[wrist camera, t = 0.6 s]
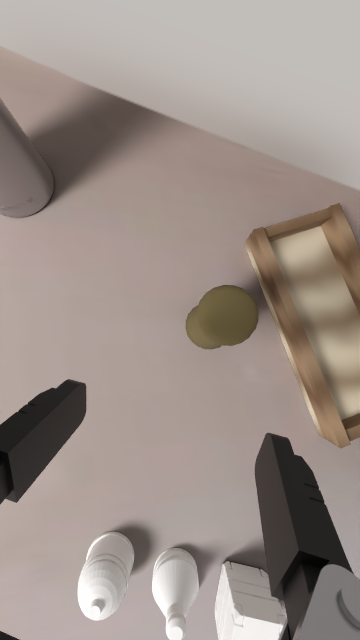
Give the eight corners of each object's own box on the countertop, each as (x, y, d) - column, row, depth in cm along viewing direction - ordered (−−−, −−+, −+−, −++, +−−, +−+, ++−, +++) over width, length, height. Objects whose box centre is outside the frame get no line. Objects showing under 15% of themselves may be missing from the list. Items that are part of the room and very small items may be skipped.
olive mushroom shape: (228, 300, 28) (263, 271, 17) (235, 346, 28) (276, 346, 17) (182, 305, 28) (189, 279, 17) (188, 352, 27) (198, 355, 16)
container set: (264, 565, 25) (290, 626, 19) (256, 617, 24) (280, 695, 19) (95, 525, 25) (73, 575, 19) (82, 576, 24) (55, 642, 19)
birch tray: (244, 243, 29) (253, 229, 26) (320, 219, 30) (339, 203, 27) (318, 434, 27) (340, 448, 23) (400, 403, 27) (433, 411, 24)
